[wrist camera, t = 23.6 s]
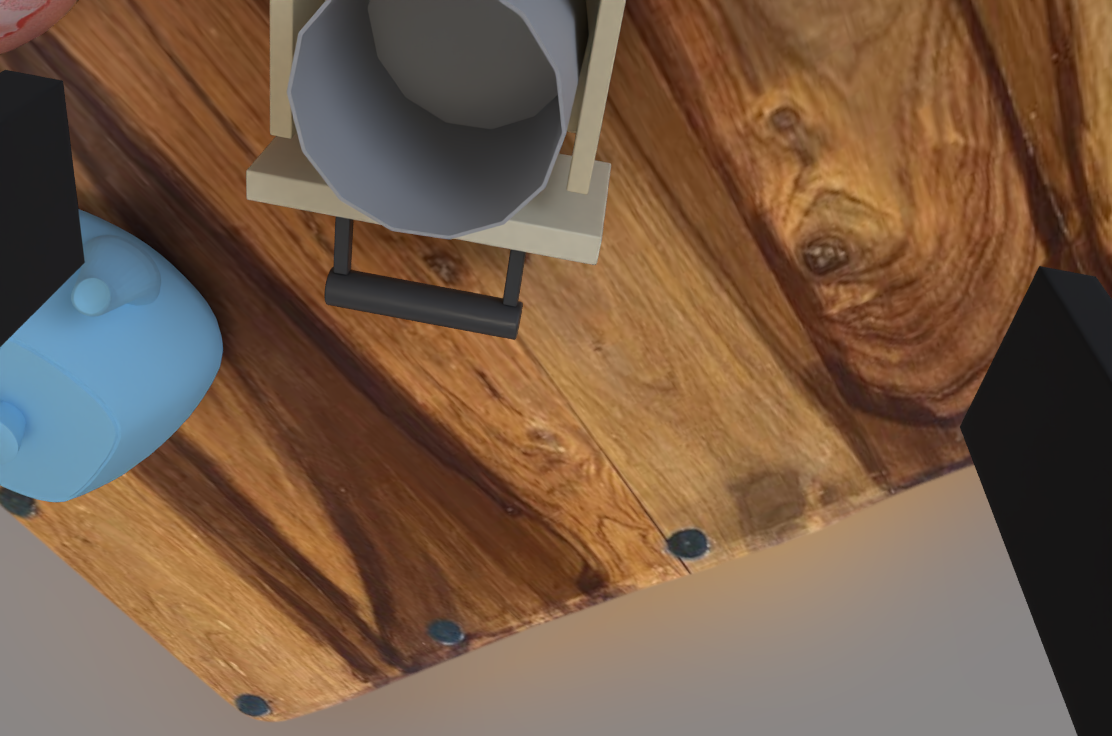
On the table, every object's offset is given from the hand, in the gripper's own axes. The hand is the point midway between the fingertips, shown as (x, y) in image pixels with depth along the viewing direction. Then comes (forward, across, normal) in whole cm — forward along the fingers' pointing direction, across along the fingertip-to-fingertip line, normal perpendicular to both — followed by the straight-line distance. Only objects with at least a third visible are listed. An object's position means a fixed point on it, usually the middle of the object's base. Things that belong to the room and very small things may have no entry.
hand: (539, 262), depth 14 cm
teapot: (+29, -21, -22) cm, 42 cm away
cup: (+27, -4, -5) cm, 28 cm away
